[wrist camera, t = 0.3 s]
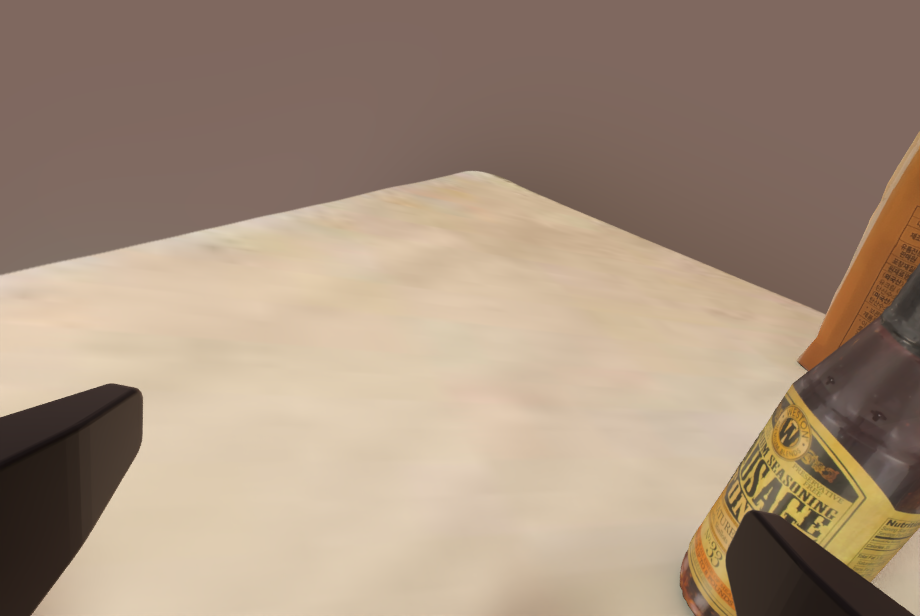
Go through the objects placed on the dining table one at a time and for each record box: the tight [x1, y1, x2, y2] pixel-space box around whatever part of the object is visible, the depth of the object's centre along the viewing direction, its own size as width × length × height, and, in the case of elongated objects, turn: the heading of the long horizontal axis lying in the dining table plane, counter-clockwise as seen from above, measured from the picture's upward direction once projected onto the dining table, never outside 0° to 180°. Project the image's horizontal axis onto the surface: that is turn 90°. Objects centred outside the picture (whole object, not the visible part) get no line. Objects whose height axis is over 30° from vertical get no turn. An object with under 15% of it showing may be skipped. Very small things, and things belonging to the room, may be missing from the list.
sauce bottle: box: [680, 263, 920, 616], centre depth 25 cm, size 6×6×20 cm
